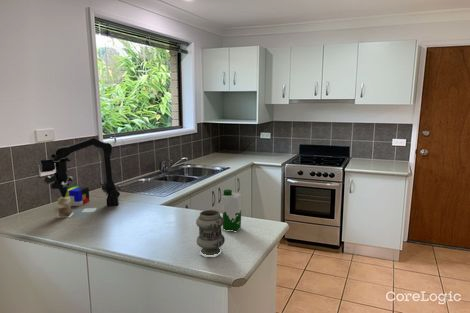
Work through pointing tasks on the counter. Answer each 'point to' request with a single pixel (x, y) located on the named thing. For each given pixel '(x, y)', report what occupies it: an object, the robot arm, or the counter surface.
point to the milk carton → (231, 210)
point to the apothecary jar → (210, 231)
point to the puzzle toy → (78, 195)
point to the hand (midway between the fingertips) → (63, 197)
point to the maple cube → (64, 202)
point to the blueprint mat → (80, 212)
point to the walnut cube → (65, 212)
